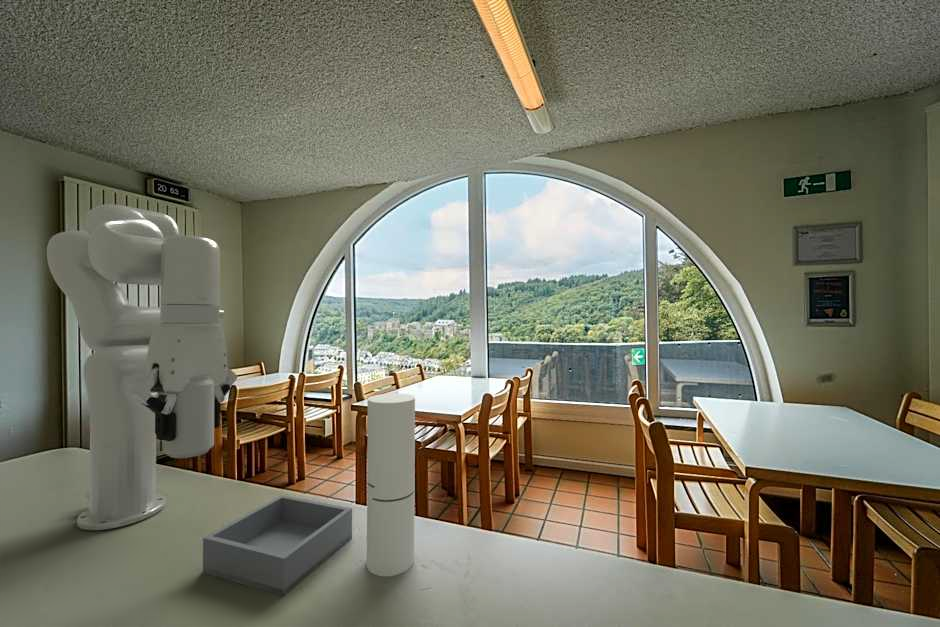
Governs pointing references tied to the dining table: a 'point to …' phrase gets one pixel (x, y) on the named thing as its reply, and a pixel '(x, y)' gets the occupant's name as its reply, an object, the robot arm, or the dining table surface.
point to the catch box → (277, 543)
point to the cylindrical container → (390, 483)
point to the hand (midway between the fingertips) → (189, 432)
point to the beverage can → (193, 419)
